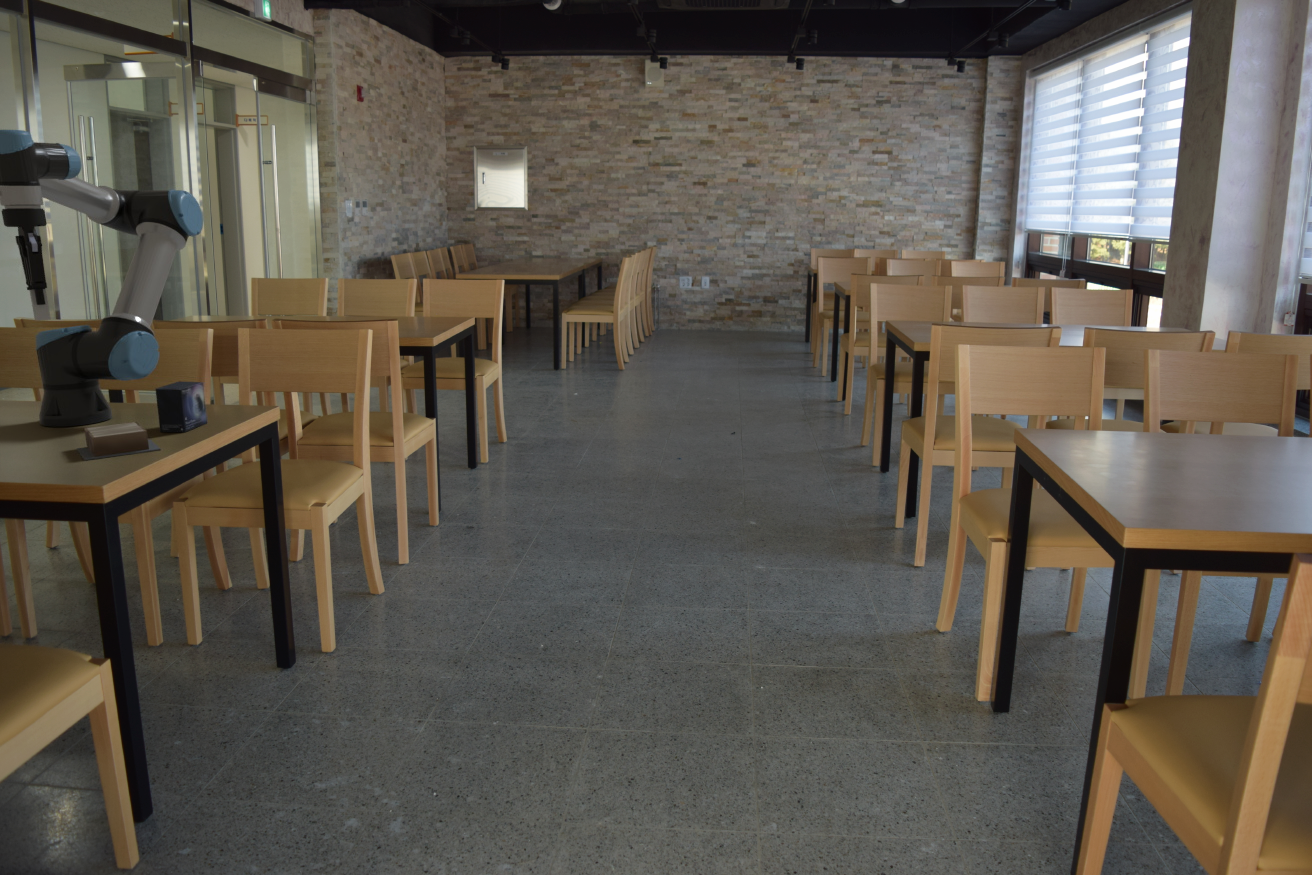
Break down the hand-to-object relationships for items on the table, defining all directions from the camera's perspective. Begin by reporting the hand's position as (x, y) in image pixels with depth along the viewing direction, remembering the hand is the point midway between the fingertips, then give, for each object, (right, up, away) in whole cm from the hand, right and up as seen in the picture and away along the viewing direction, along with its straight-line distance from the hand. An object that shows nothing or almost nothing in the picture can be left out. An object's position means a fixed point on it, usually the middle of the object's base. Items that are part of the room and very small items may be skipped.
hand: (42, 319), depth 196 cm
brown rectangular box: (+13, -25, +3) cm, 28 cm away
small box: (+20, -23, +20) cm, 37 cm away
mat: (+17, -28, -1) cm, 33 cm away
